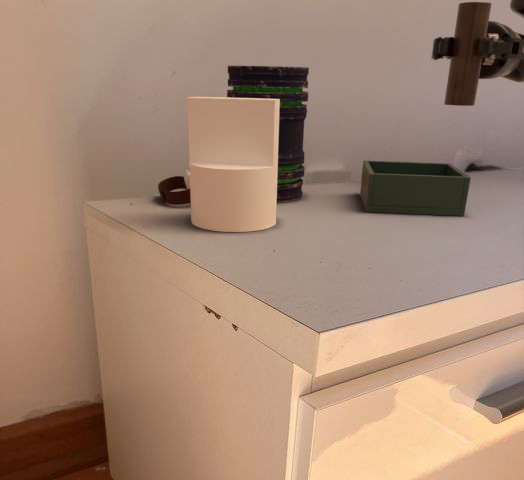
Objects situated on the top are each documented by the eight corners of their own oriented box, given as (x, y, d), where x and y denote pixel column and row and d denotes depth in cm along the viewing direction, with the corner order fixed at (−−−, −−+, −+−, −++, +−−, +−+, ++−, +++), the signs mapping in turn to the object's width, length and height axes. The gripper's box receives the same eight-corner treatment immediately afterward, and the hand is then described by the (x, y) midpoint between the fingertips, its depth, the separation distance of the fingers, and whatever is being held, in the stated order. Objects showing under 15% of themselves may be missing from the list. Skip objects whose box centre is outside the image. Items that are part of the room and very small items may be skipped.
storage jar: (242, 186, 79) (243, 66, 73) (311, 191, 77) (318, 68, 70) (215, 199, 71) (213, 65, 64) (291, 205, 68) (297, 66, 62)
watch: (209, 206, 67) (208, 174, 65) (170, 209, 65) (169, 176, 64) (186, 194, 73) (185, 165, 72) (151, 196, 71) (149, 166, 70)
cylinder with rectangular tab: (181, 229, 57) (176, 98, 52) (202, 210, 65) (199, 95, 60) (270, 234, 56) (274, 101, 51) (280, 214, 64) (284, 97, 59)
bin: (445, 197, 75) (450, 163, 73) (464, 216, 65) (470, 177, 63) (360, 193, 76) (363, 160, 74) (365, 212, 66) (369, 173, 64)
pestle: (470, 104, 80) (487, 5, 75) (477, 106, 76) (495, 1, 71) (441, 103, 80) (456, 4, 75) (447, 105, 77) (462, 1, 71)
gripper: (447, 24, 88) (413, 14, 75) (546, 22, 82) (529, 11, 68) (439, 77, 91) (405, 77, 78) (534, 80, 85) (515, 80, 72)
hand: (463, 46), depth 73 cm, fingers closed on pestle, 4 cm apart
